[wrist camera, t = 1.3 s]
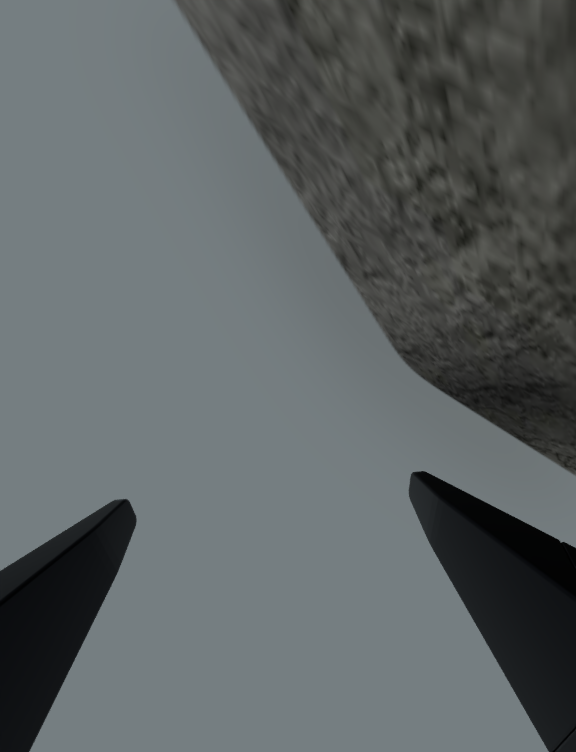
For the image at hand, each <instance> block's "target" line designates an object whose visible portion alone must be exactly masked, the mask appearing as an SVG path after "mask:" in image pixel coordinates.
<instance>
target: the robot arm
mask: <svg viewBox="0 0 576 752" xmlns="http://www.w3.org/2000/svg"><path fill="white" fill-rule="evenodd" d="M409 497H410V500H411V502H412V505H413V507H414V509H415V511H416V514H417V516H418V518H419V521H420V523H421V525H422V528H423V530H424V532H425V534H426V536H427V538H428V541H429V543H430V545H431V547H432V548H433V550H434V552H435V554H436V555H437V557H438V559H439V561H440V563H441V564H442V566H443V568H444V570H445V571H446V573H447V575H448V576H449V578H450V580H451V582H452V583H453V585H454V587H455V589H456V591H457V592H458V594H459V596H460V597H461V599H462V601H463V602H464V604H465V606H466V608H467V610H468V611H469V613H470V615H471V617H472V618H473V620H474V622H475V623H476V625H477V627H478V629H479V631H480V632H481V634H482V636H483V638H484V639H485V641H486V643H487V645H488V646H489V648H490V650H491V652H492V653H493V655H494V657H495V658H496V660H497V662H498V664H499V666H500V667H501V669H502V670H503V672H504V674H505V676H506V678H507V680H508V681H509V683H510V685H511V687H512V688H513V690H514V692H515V694H516V695H517V697H518V699H519V700H520V702H521V704H522V706H523V707H524V709H525V711H526V713H527V714H528V716H529V718H530V720H531V721H532V723H533V725H534V727H535V728H536V730H537V732H538V733H539V735H540V737H541V739H542V741H543V742H544V744H545V746H546V748H547V749H548V751H549V752H576V548H575V547H573V546H571V545H569V544H567V543H565V542H562V543H560V541H559V540H558V539H556V538H554V537H552V536H550V535H548V534H546V533H544V532H542V531H540V530H538V529H536V528H535V527H532V526H531V525H529V524H527V523H525V522H523V521H521V520H519V519H517V518H515V517H513V516H511V515H509V514H507V513H505V512H503V511H501V510H499V509H497V508H496V507H493V506H491V505H490V504H488V503H486V502H484V501H482V500H480V499H478V498H476V497H474V496H472V495H470V494H468V493H466V492H464V491H462V490H460V489H458V488H456V487H454V486H453V485H451V484H448V483H447V482H445V481H443V480H441V479H439V478H437V477H435V476H433V475H431V474H429V473H427V472H424V471H421V472H413V473H412V474H411V478H410V486H409ZM135 526H136V515H135V513H134V511H133V508H132V506H131V504H130V502H129V501H128V500H127V499H120V500H114V501H112V502H110V503H109V504H107V505H105V506H104V507H102V508H101V509H99V510H97V511H96V512H94V513H93V514H91V515H89V516H88V517H86V518H85V519H83V520H81V521H80V522H78V523H77V524H75V525H74V526H72V527H70V528H68V529H67V530H65V531H64V532H62V533H61V534H59V535H57V536H56V537H54V538H52V539H51V540H49V541H48V542H46V543H44V544H43V545H41V546H40V547H38V548H37V549H35V550H33V551H32V552H30V553H28V554H27V555H25V556H24V557H22V558H20V559H19V560H17V561H16V562H14V563H12V564H11V565H9V566H7V567H6V568H4V569H3V570H1V571H0V752H29V751H30V749H31V747H32V745H33V743H34V741H35V739H36V737H37V735H38V733H39V731H40V729H41V727H42V725H43V723H44V721H45V719H46V717H47V715H48V713H49V711H50V709H51V707H52V704H53V703H54V700H55V698H56V697H57V694H58V692H59V690H60V688H61V686H62V684H63V682H64V680H65V678H66V676H67V674H68V672H69V670H70V668H71V666H72V664H73V662H74V660H75V658H76V656H77V654H78V652H79V650H80V648H81V646H82V644H83V642H84V640H85V638H86V636H87V634H88V632H89V630H90V628H91V625H92V623H93V622H94V619H95V618H96V616H97V613H98V611H99V609H100V607H101V605H102V603H103V601H104V599H105V597H106V595H107V593H108V591H109V589H110V587H111V585H112V583H113V581H114V579H115V577H116V575H117V572H118V570H119V567H120V565H121V563H122V560H123V558H124V555H125V552H126V550H127V547H128V544H129V542H130V539H131V537H132V534H133V531H134V529H135Z"/></svg>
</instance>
